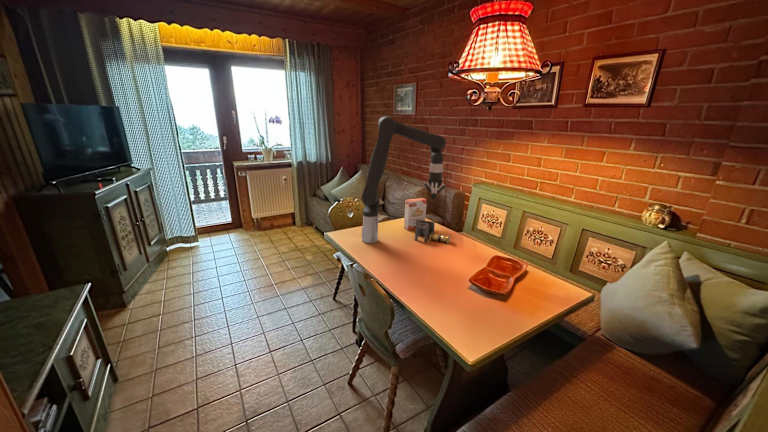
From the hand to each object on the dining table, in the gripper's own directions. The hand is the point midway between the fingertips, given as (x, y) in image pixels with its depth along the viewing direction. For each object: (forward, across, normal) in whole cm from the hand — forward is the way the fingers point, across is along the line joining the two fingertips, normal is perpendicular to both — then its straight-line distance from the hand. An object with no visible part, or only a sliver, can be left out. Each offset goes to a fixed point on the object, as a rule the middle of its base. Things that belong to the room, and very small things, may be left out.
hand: (433, 199), depth 180 cm
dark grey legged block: (+27, -6, 0) cm, 28 cm away
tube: (+27, +5, 0) cm, 28 cm away
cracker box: (+27, -15, +16) cm, 35 cm away
